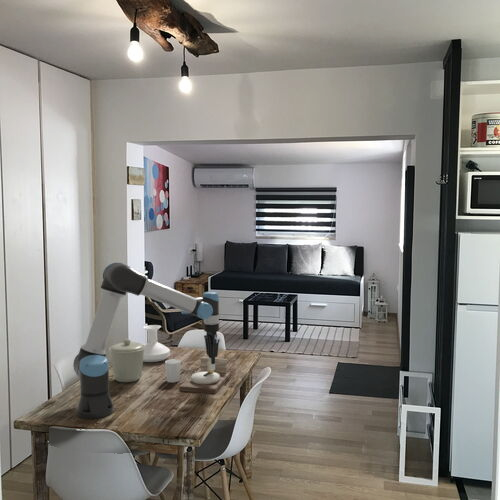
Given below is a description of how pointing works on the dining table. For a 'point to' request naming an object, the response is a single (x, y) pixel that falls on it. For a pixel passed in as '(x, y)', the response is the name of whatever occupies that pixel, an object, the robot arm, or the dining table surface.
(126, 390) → the dining table surface
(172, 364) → the white cup
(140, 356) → the canister
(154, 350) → the white vase
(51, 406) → the dining table surface
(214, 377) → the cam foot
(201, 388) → the stand
